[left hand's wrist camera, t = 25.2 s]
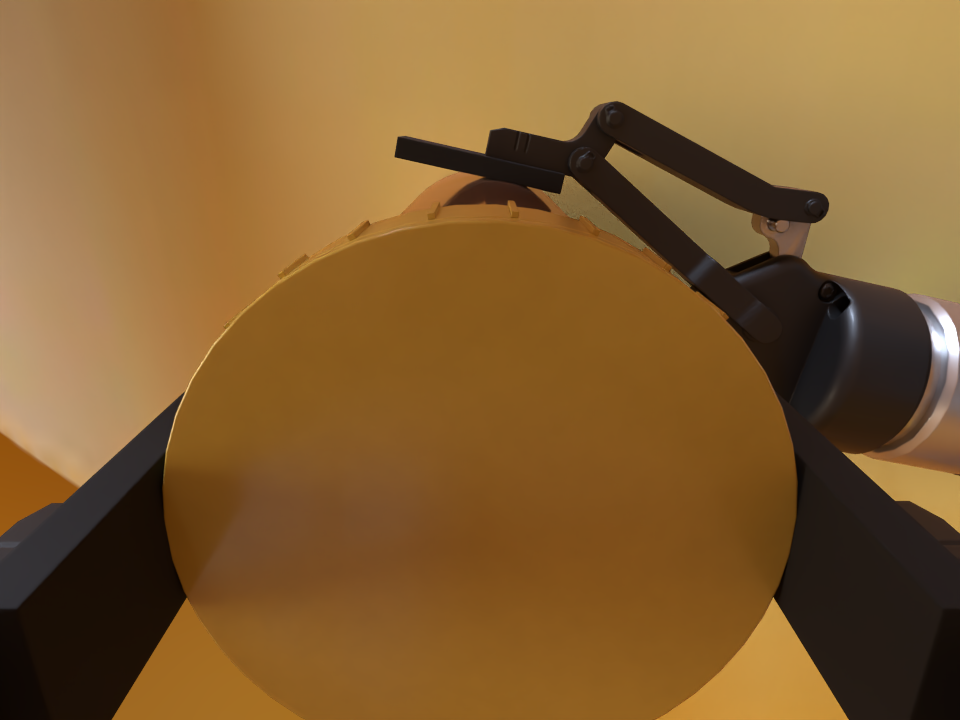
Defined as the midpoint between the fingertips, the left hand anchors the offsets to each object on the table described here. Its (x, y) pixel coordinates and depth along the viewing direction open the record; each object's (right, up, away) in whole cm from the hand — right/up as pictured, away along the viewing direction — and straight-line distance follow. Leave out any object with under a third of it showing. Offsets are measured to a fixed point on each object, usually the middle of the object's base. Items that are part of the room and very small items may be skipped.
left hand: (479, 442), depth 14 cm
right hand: (-4, +6, +14) cm, 16 cm away
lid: (0, -1, -3) cm, 3 cm away
